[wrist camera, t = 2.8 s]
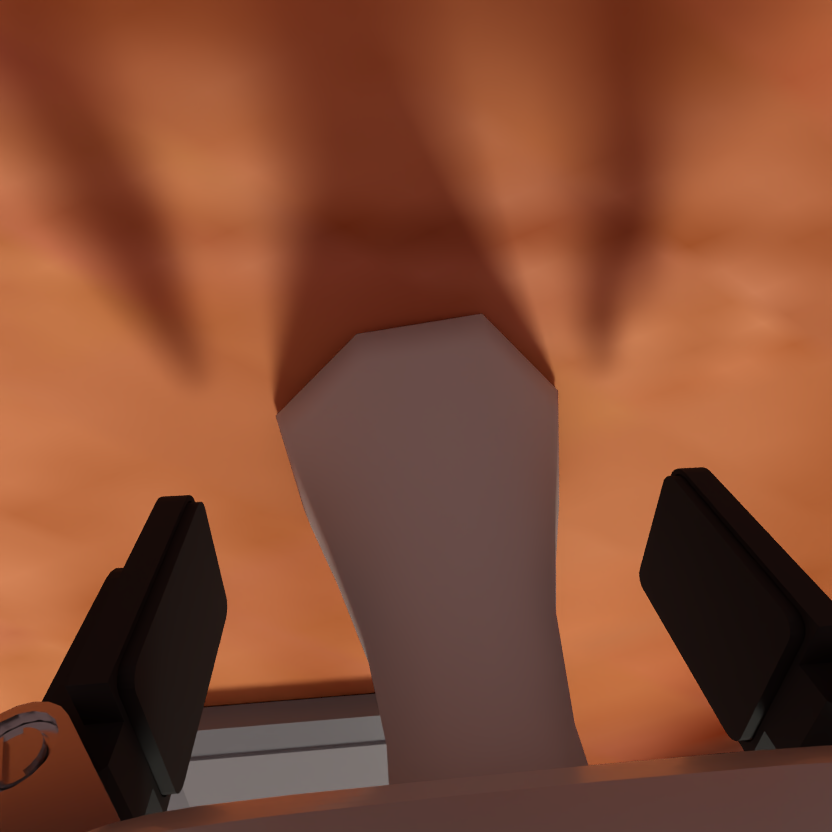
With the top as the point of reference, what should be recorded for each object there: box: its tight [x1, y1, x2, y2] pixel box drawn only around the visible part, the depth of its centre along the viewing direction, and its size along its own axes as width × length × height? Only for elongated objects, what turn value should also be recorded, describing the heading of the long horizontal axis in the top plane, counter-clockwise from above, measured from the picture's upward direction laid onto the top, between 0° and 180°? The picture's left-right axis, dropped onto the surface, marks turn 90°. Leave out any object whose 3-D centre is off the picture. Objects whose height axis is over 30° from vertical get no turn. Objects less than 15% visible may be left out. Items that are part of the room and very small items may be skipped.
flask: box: [276, 314, 588, 785], centre depth 10 cm, size 7×7×10 cm
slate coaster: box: [167, 694, 389, 811], centre depth 22 cm, size 14×14×1 cm
